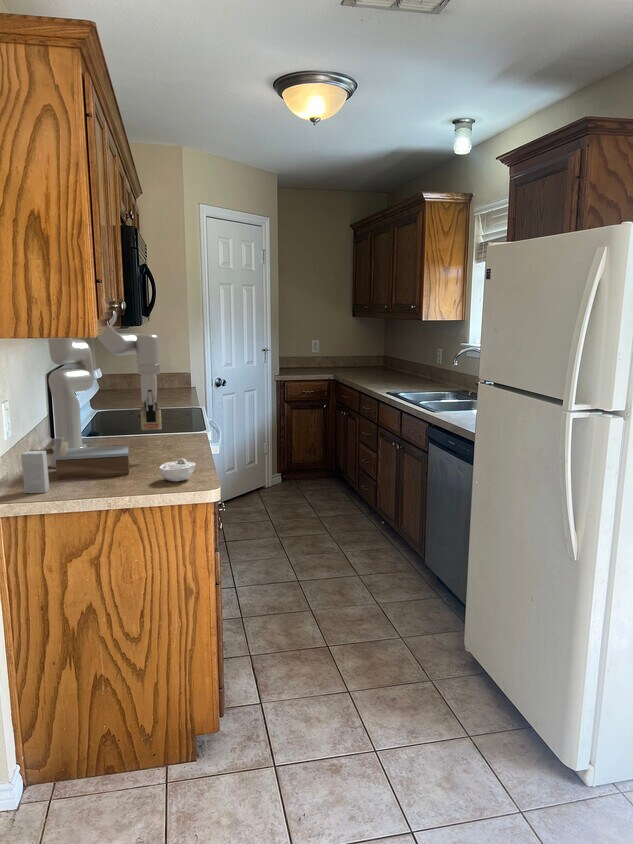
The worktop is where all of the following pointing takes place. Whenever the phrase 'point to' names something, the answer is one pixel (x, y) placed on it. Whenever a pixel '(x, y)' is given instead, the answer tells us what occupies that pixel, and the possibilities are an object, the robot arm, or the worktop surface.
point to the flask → (56, 451)
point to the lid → (91, 452)
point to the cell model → (177, 470)
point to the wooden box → (92, 467)
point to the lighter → (150, 425)
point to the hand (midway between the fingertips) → (151, 420)
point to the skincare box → (35, 472)
